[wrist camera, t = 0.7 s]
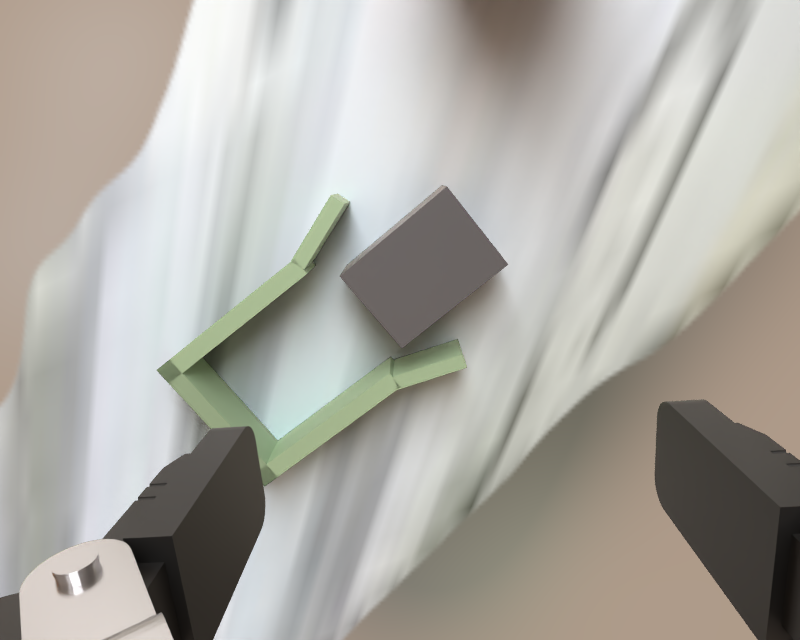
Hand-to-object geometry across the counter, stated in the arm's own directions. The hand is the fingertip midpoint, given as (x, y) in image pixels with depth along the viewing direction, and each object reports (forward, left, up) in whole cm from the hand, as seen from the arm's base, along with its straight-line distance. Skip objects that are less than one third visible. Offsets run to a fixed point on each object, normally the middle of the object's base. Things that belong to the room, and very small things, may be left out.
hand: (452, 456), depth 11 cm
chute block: (-1, -1, -22) cm, 22 cm away
